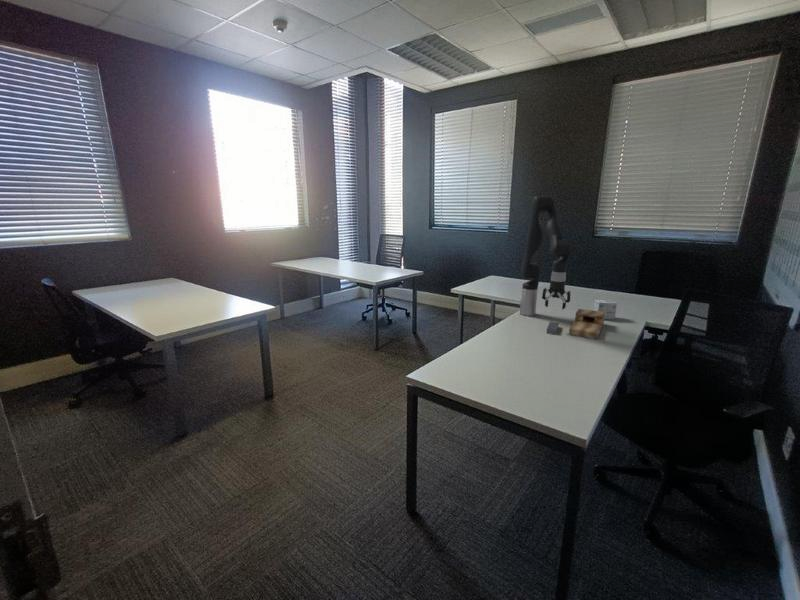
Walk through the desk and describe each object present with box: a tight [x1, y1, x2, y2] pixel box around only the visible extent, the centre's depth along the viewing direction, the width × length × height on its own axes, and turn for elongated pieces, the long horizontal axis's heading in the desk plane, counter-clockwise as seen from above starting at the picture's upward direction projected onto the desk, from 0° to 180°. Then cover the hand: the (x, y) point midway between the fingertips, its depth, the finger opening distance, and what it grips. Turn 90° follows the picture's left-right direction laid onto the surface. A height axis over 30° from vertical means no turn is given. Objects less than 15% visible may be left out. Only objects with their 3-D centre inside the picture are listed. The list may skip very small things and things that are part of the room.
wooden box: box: [568, 308, 605, 340], centre depth 207 cm, size 14×30×7 cm, turn 147°
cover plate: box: [546, 321, 560, 335], centre depth 206 cm, size 5×14×3 cm, turn 152°
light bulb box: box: [593, 299, 618, 320], centre depth 226 cm, size 11×7×11 cm, turn 84°
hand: (554, 307), depth 203 cm, fingers open, 8 cm apart
